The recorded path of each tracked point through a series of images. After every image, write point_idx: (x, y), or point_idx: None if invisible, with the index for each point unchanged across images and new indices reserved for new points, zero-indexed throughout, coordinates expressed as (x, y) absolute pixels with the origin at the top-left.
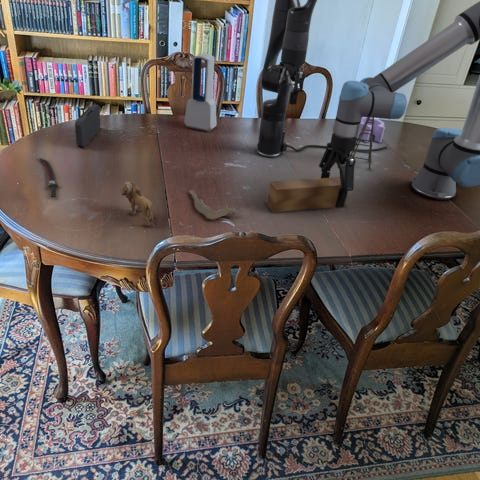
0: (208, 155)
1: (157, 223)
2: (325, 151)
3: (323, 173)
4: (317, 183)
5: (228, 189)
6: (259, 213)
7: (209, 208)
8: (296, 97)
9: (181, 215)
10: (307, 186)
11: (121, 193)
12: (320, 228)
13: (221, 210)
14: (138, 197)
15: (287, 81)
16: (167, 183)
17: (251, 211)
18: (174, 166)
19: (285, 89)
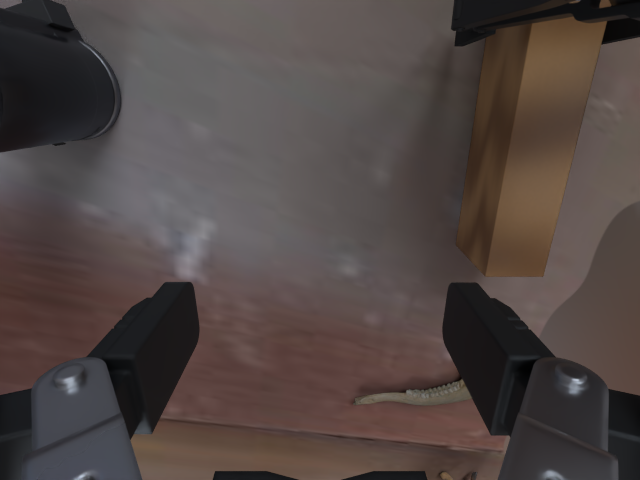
0: (120, 306)
1: (476, 474)
2: (529, 9)
3: (495, 31)
4: (560, 108)
5: (350, 312)
6: (494, 279)
7: (456, 388)
8: (533, 343)
9: (445, 427)
10: (566, 161)
11: None
12: (631, 148)
13: None
14: None
15: (118, 407)
16: (296, 427)
17: None
18: (201, 399)
19: (163, 328)
